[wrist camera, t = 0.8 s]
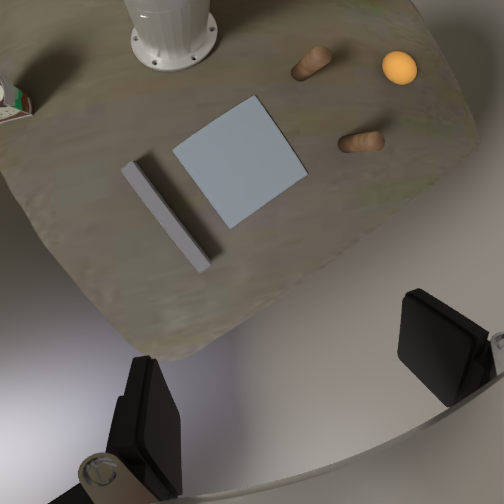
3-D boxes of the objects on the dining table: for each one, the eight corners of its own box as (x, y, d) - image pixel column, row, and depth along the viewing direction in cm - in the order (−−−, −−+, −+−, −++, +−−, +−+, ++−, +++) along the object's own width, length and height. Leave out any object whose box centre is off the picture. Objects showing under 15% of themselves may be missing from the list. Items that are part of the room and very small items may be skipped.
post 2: (335, 141, 43) (365, 137, 34) (347, 133, 43) (378, 128, 34) (343, 155, 44) (374, 154, 35) (355, 147, 44) (387, 145, 35)
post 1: (287, 70, 39) (308, 49, 30) (301, 63, 39) (324, 42, 30) (297, 83, 40) (320, 66, 31) (310, 76, 39) (335, 59, 31)
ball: (369, 62, 40) (389, 52, 34) (391, 52, 40) (410, 43, 34) (388, 92, 42) (409, 85, 36) (408, 80, 42) (429, 74, 36)
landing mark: (172, 150, 39) (171, 150, 39) (254, 95, 39) (254, 95, 39) (229, 229, 44) (230, 229, 43) (307, 173, 43) (307, 174, 43)
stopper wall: (124, 170, 39) (120, 170, 36) (135, 161, 39) (131, 160, 36) (199, 267, 44) (199, 273, 42) (210, 260, 44) (211, 265, 42)
